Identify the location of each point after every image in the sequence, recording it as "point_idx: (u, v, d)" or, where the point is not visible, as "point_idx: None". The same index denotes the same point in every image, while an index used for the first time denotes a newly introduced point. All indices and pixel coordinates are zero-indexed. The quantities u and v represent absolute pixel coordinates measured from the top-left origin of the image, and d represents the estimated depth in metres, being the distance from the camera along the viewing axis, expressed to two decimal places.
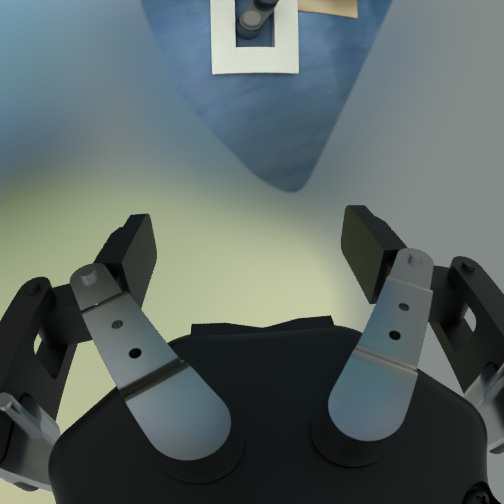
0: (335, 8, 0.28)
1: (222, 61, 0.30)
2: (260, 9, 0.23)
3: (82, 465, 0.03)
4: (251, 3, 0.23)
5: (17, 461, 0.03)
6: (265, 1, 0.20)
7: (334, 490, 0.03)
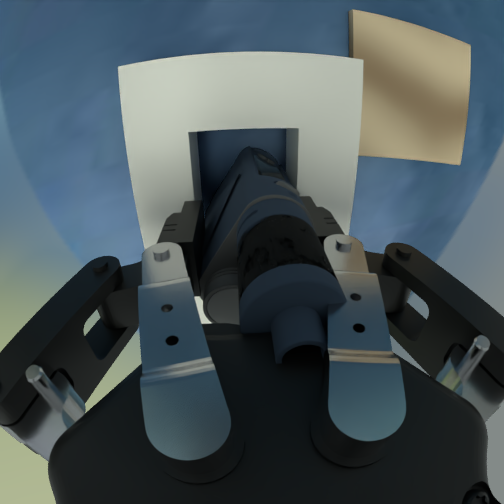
0: (426, 145, 0.15)
1: None
2: None
3: (82, 462, 0.03)
4: (230, 240, 0.10)
5: (28, 429, 0.04)
6: None
7: (334, 490, 0.03)
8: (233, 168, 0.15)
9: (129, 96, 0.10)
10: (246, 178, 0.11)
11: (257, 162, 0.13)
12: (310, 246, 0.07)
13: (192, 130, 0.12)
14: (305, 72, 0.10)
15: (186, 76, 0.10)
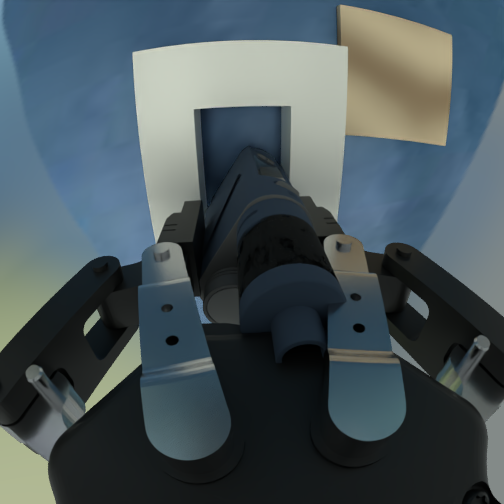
0: (411, 127, 0.16)
1: None
2: None
3: (82, 462, 0.03)
4: (230, 240, 0.10)
5: (28, 429, 0.04)
6: None
7: (334, 490, 0.03)
8: (233, 168, 0.15)
9: (142, 78, 0.12)
10: (246, 178, 0.11)
11: (257, 162, 0.13)
12: (309, 245, 0.07)
13: (197, 107, 0.13)
14: (296, 57, 0.12)
15: (192, 61, 0.11)
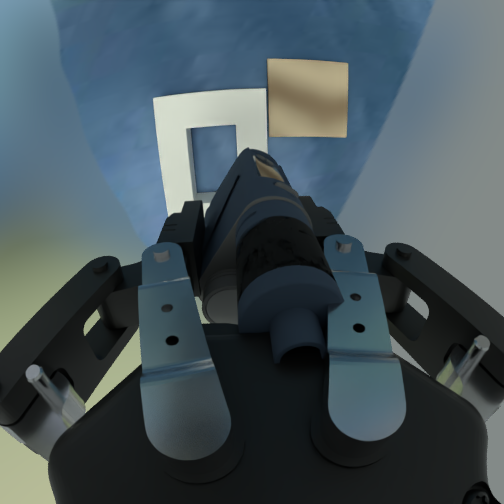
0: (318, 128, 0.28)
1: None
2: None
3: (82, 462, 0.03)
4: (229, 241, 0.10)
5: (28, 429, 0.04)
6: None
7: (334, 490, 0.03)
8: (232, 169, 0.15)
9: (158, 112, 0.24)
10: (245, 179, 0.11)
11: (256, 163, 0.13)
12: (308, 247, 0.07)
13: (187, 127, 0.25)
14: (237, 98, 0.24)
15: (184, 103, 0.24)
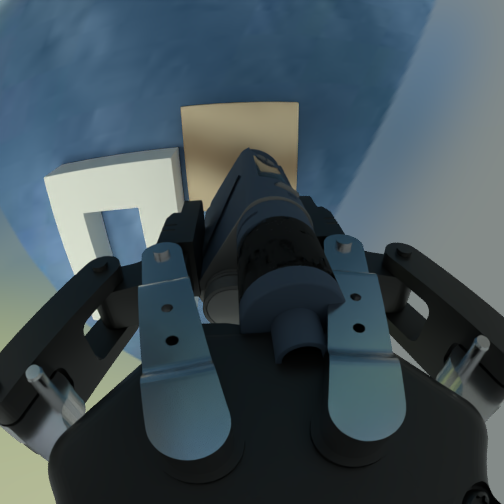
0: None
1: None
2: None
3: (82, 462, 0.03)
4: (230, 242, 0.10)
5: (28, 429, 0.04)
6: None
7: (334, 490, 0.03)
8: (233, 169, 0.15)
9: (52, 194, 0.18)
10: (246, 179, 0.11)
11: (257, 163, 0.13)
12: (309, 247, 0.07)
13: (84, 212, 0.20)
14: (135, 174, 0.18)
15: (76, 183, 0.18)
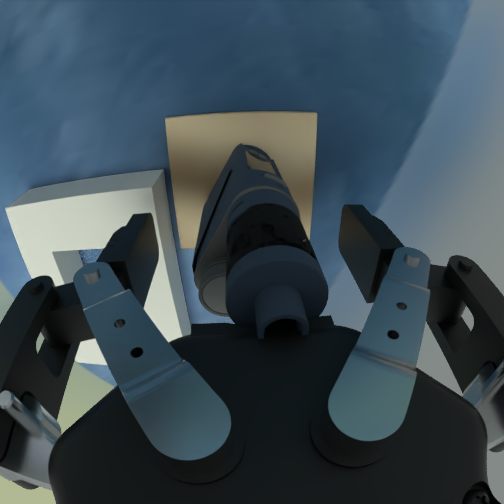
0: None
1: (81, 351, 0.20)
2: None
3: (82, 465, 0.03)
4: (221, 231, 0.10)
5: (17, 459, 0.03)
6: None
7: (334, 490, 0.03)
8: (227, 165, 0.15)
9: (16, 227, 0.14)
10: (236, 173, 0.12)
11: (248, 157, 0.13)
12: (290, 230, 0.07)
13: (53, 250, 0.15)
14: (109, 207, 0.14)
15: (40, 216, 0.14)
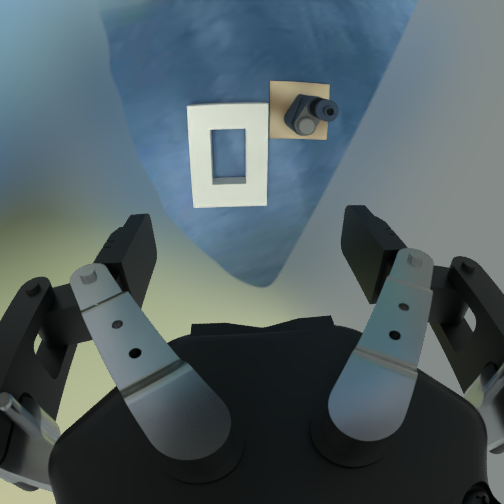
0: None
1: (201, 197, 0.41)
2: (314, 116, 0.31)
3: (82, 465, 0.03)
4: (305, 108, 0.31)
5: (17, 461, 0.03)
6: (324, 120, 0.28)
7: (334, 490, 0.03)
8: (295, 100, 0.36)
9: (190, 116, 0.35)
10: (305, 97, 0.32)
11: None
12: None
13: (211, 129, 0.36)
14: (248, 110, 0.35)
15: (209, 111, 0.34)
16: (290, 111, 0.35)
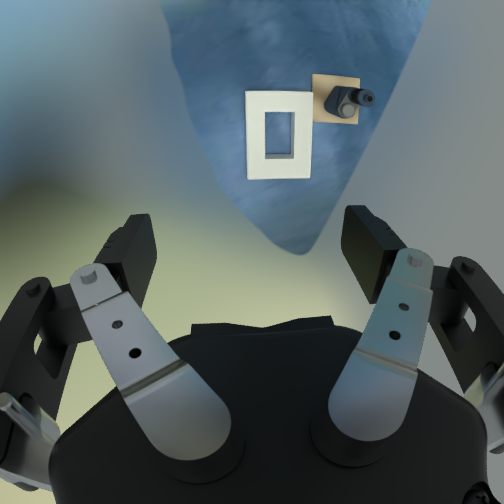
0: None
1: (255, 170, 0.46)
2: (353, 103, 0.36)
3: (82, 465, 0.03)
4: (346, 96, 0.36)
5: (17, 461, 0.03)
6: (364, 105, 0.34)
7: (334, 490, 0.03)
8: (333, 90, 0.41)
9: (248, 100, 0.40)
10: (344, 87, 0.38)
11: None
12: None
13: (266, 111, 0.42)
14: (296, 96, 0.40)
15: (265, 96, 0.40)
16: (330, 99, 0.41)
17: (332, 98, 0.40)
